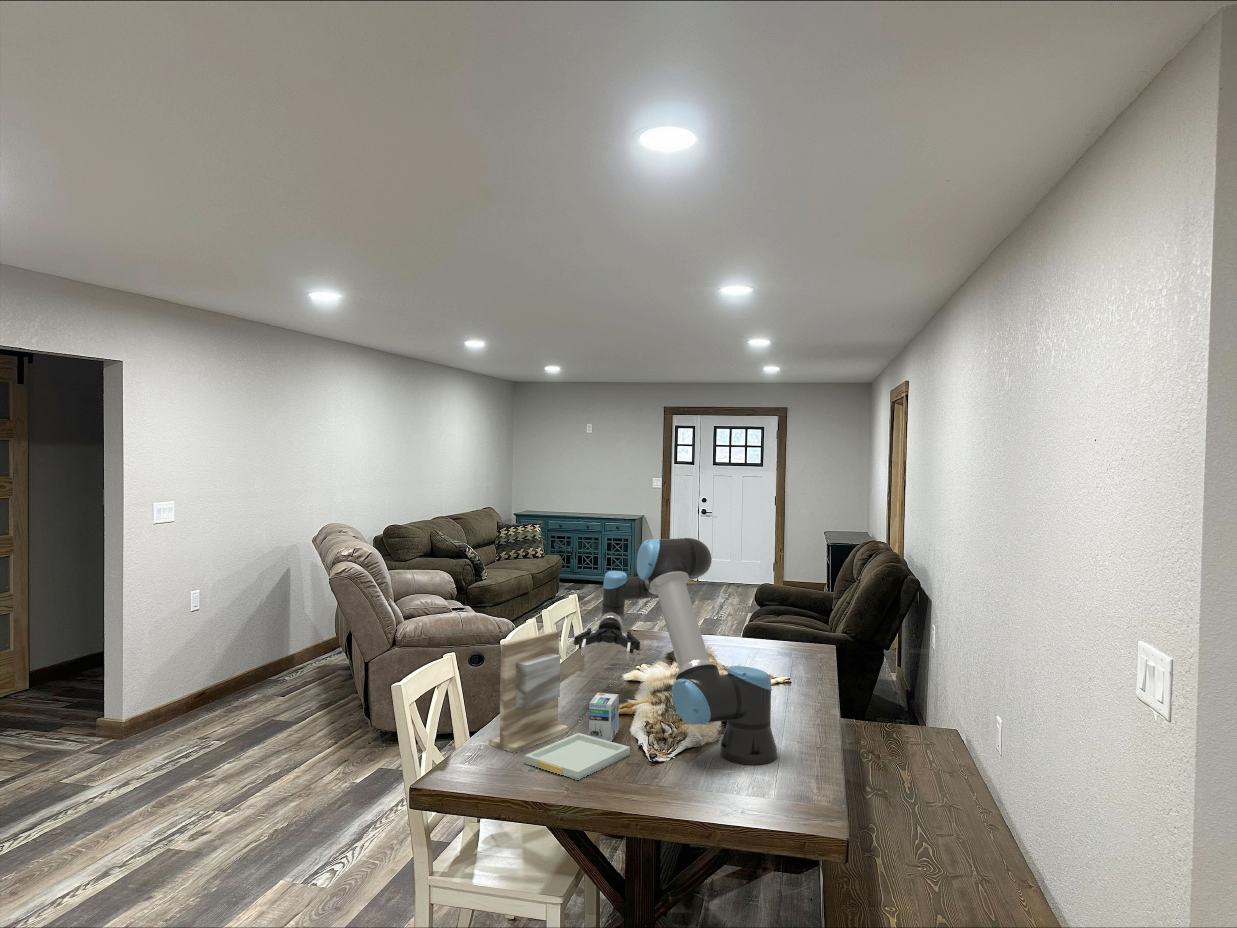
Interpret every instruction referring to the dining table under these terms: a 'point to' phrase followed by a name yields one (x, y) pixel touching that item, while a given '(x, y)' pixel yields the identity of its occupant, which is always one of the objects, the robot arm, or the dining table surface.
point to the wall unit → (529, 692)
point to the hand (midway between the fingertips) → (605, 653)
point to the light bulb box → (604, 716)
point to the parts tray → (577, 756)
